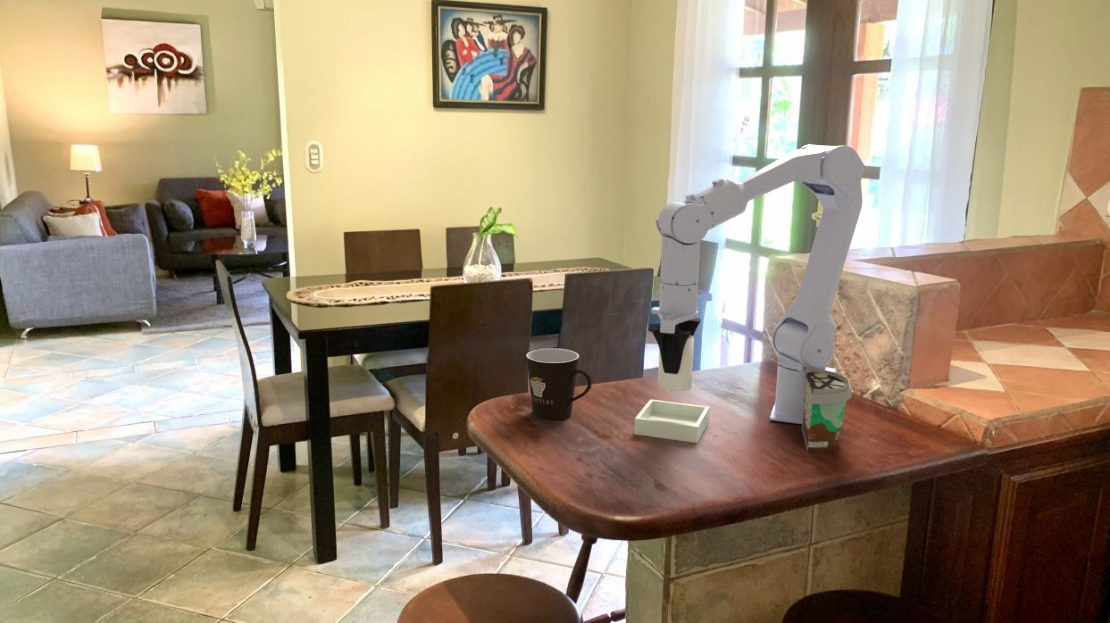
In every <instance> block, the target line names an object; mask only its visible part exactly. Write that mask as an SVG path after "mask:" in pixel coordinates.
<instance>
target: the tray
mask: <svg viewBox="0 0 1110 623" xmlns="http://www.w3.org/2000/svg"><path fill="white" fill-rule="evenodd" d="M710 409H711V408H710V406H707V405H697V404H689V403H683V402H673V401H666V400H660V399H659V400H658V399H649V401H648V402H646V404H645V406H643V408H642V409H641V410H640V412H639V413H638V414H637V415H636V416H635V417H634V435H638V436H645V437H651V438H658V439H659V438H660V439H665V440H671V441H681V442H685V443H687V442H688V443H692V444H693V443H695V444H698V443H699V441H700V440H701V437H702V435H703V433H704V431H705V430H706V428H707V426H708V425H709V423H710V412H711V411H710Z"/></svg>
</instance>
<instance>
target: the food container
mask: <svg viewBox="0 0 1110 623" xmlns="http://www.w3.org/2000/svg"><path fill="white" fill-rule="evenodd" d="M852 397H853V394H852V387H851V384H850V382H849V379H848V378H847V377H846V376H844V375H842V374H840V373H837V372H836V373H835V372H831V371H828V370H823V369H817V368H807V367H806V374H805V393H804V407H803V422H802V424H801V431H802V436H803V439H804V443H805V448H806V451H807V453H826V452H831V451H834V450H836V449H837V448H838V447H839V444H840V439H841V435H842V434H841V433H842V428H843V421H844V418H845V410H846V405H847V401H849V400H850V399H851V398H852Z"/></svg>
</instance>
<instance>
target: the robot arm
mask: <svg viewBox="0 0 1110 623" xmlns="http://www.w3.org/2000/svg"><path fill="white" fill-rule="evenodd" d="M865 169H866V165H865V164H864V162H863V161H862V159H861V157H860V155H859V154H858V152H857V151H856V150H855V149H854V148H853V147H851V146H849V145H843V144H842V145H818V144H813V143H809V144H805V145H803V146H802V147H801V148H799V149H798V148H796V149H794V150H791V151H789V152H787V153H786V154H785V155H784V156H781V157H780V158H778V159H776V160H775V161H773V162H771V163H770V164H767V165H766V166H764V167H762V168H760V169H759V170H757V171H755V172H753V173H752V174H749V175H747V176H746V177H745V178H743V179H740V180H739V181H738V182H737V181H735V180H734V179H731V178H725V179H724V178H717V179H715V180H712V185H711V186H710V187H708V188H705V189H703V190H701V191H699V192H697V193H695V194H694V193H689V194H687V195H685V200H684V202H679V201H673V202H670V203H668V204H666V205H665V206H664V207H663V208H662V211H660V212H659V214H658V215H659V216H658V219H656V220H655V226H656V229H657V231H658V233H659V234H660V236H661V253H660V254H661V255H660V277H659V278H660V280H659V282H660V284H659V304H658V305H659V306H654V307H652V308H651V309H650V310H651V312H650V313H651V314H654V315H657V316H658V318H659V319H660V324H659V325H655V326H653V328H652V335H653V337H654V338H655V339H654V340H656V343H657V346H658V350H659V349H660V354H661V359H662V365H663V370H664V373H670V374H678V372H679V369H680V365H681V360H682V355H683V351H684V347H685V344H686V342H687V339H688V337H689V335H692V336H694V337H695V333H696V331H697V329H698V327H699V326H700V323H701V318H699V317H698V316H699V311H698V295H699V293H698V292H699V290H698V289H699V274H700V256H701V255H700V253H701V252H700V250H701V249H700V248H701V246H700V245H701V242H702V240H703V239H704V238H705V237H706V235H707V234H708V231H709V230H712V229H713V228H716V227H717V226H719V225H722V224H724V223H726V222H728V221H729V220H731V219H733V218H736V217H738V216H739V215H741V214H743V213H744V212H745V211H746V209H747V205H748V203H749V202H750V201H752V200H755V199H756V198H758V197H761V196H763V195H765V194H768V193H770V192H773V191H774V190H777V189H780V188H781V187H784V186H785V185H788V184H790V183H792V182H799V183H800V184H802V185H803V186H804V187H806V188H807V189H808V190H809V191H810V192H812V193H813V194H814V196H815V198H816V199H817V200H818V201H819V203H820V205H821V207H822V208H823V209H822V213H821V216H820V220H819V223H818V226H817V230H816V233H815V237H814V240H813V243H812V246H811V250H810V252H809V256H808V260H807V263H806V267H805V271H804V274H803V276H802V279H801V283H800V287H799V289H798V293H797V297H796V300H795V302H794V303H793V304H792V305H790V306H789V307H787V308H786V309H785V310H784V311H783V315H782V317H781V319H780V321H779V322H778V323H777V324H776V326H775V327H774V328H773V331H772V333H771V339H770V340H771V345H772V348H773V349H774V351H775V352H776V353H777V360H778V361H777V370H776V371H777V373H776V374H777V375H776V387H775V402H774V404H773V407H772V410H771V413H770V415H769V420H770V421H773V422H780V423H781V422H782V423H789V424H798V425H802V422H803V407H804V393H805V374H806V367H807V368H817V369H823V370H828V371H831V372H835V373H837V369H836V368H833V367H828V365H829V364H830V363H831V361H832V360H833V358H834V355H835V352H836V344H835V337H836V336H835V335H836V333H837V332H836V331H837V328H838V327H837V325H836V323H835V321H834V318H833V316H832V314H831V309H832V305H833V303H834V300H835V297H836V296H835V295H836V292H837V290H838V286H839V283H840V279H841V276H842V274H843V270H844V267H845V263H846V260H847V256H848V253H849V250H850V247H851V245H852V244H851V243H852V240H853V237H854V234H855V229H856V227H857V223H858V220H859V217H860V215H861V210H862V206H863V193H862V180H863V175H864V173H865V172H864V171H865Z"/></svg>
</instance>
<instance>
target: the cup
mask: <svg viewBox="0 0 1110 623" xmlns="http://www.w3.org/2000/svg"><path fill="white" fill-rule="evenodd" d="M694 345H695V335H694V336H692V335H689V337H688V339H687V342H686V344H685V347H684V351H683V355H682V360H681V365H680V369H679V372H678V374H670V373H664V370H663V365H662V359H661V354H660V349H659V348H658V350H659V351H658V352H659V354H658V372H657V373H658V377H657V386H658V388H659V389H661V390H664V391H665V390H666V391H670V392H686V391H689V390H691V389H692V382H693V381H692V380H693V364H694V349H695V348H694Z"/></svg>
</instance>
